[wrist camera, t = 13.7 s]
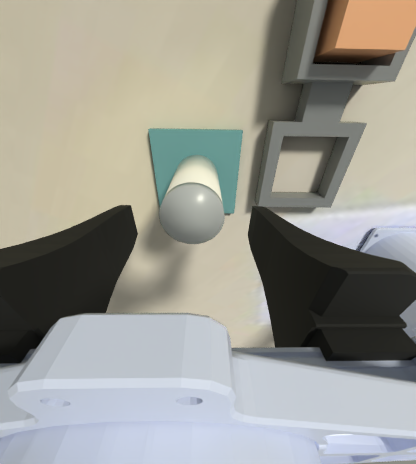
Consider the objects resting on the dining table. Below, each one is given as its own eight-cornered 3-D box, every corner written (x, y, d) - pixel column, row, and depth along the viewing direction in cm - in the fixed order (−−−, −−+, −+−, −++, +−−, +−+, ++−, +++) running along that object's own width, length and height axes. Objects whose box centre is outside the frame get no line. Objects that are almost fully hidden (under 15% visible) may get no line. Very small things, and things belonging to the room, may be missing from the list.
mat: (233, 210, 21) (233, 213, 20) (161, 210, 21) (160, 212, 20) (241, 129, 16) (242, 130, 16) (150, 128, 16) (148, 129, 16)
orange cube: (357, 62, 14) (405, 49, 10) (303, 61, 14) (335, 48, 10) (387, -24, 12) (460, -75, 8) (323, -26, 11) (371, -79, 8)
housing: (323, 201, 20) (339, 214, 18) (254, 200, 20) (261, 214, 18) (424, -54, 11) (487, -100, 9) (299, -59, 11) (327, -106, 8)
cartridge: (216, 195, 19) (222, 244, 13) (177, 195, 19) (163, 243, 13) (218, 155, 17) (226, 187, 10) (174, 154, 17) (154, 186, 10)
